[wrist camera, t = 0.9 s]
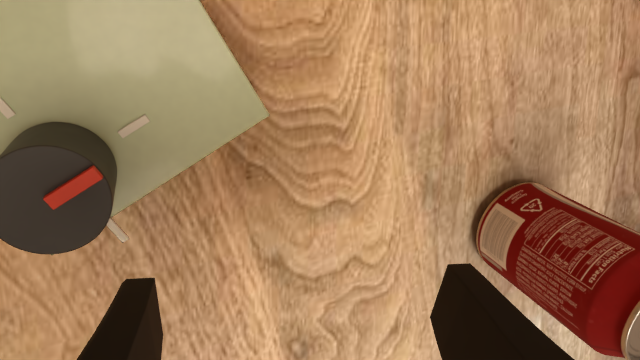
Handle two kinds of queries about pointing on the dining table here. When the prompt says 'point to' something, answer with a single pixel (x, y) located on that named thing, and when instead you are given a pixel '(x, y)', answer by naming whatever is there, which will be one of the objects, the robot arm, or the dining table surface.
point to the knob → (55, 188)
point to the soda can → (568, 264)
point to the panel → (125, 83)
